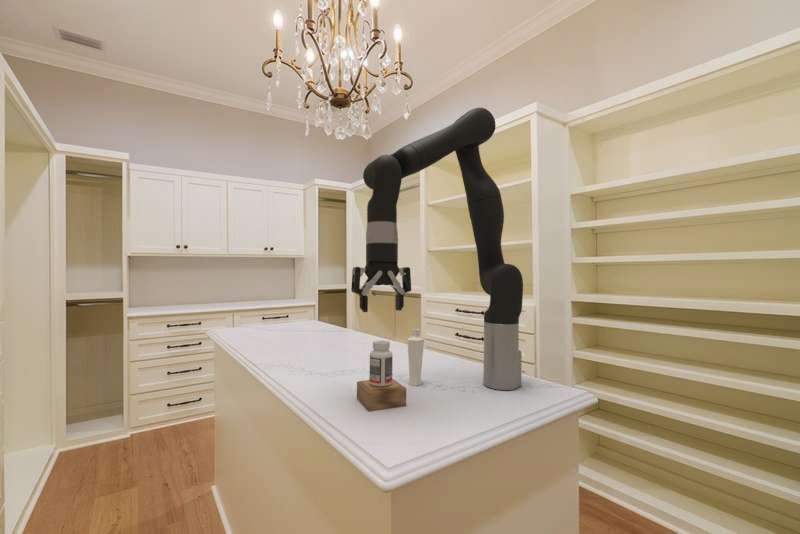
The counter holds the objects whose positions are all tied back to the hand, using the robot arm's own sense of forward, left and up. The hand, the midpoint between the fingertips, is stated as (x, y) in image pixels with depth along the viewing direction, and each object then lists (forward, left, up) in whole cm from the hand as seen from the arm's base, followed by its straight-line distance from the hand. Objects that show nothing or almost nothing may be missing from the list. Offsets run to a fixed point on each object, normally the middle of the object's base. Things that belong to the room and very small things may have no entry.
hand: (381, 311), depth 86 cm
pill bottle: (0, 0, -17) cm, 17 cm away
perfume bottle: (-14, -10, -22) cm, 28 cm away
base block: (0, 0, -21) cm, 21 cm away
